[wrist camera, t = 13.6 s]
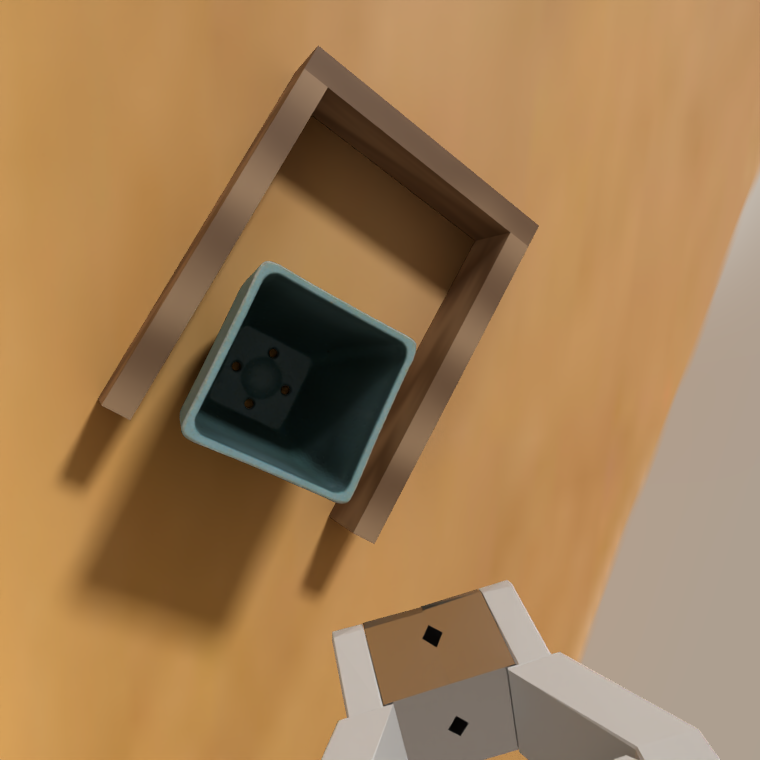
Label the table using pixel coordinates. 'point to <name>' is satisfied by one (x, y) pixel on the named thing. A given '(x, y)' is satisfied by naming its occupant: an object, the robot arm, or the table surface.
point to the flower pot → (297, 384)
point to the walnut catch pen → (422, 177)
